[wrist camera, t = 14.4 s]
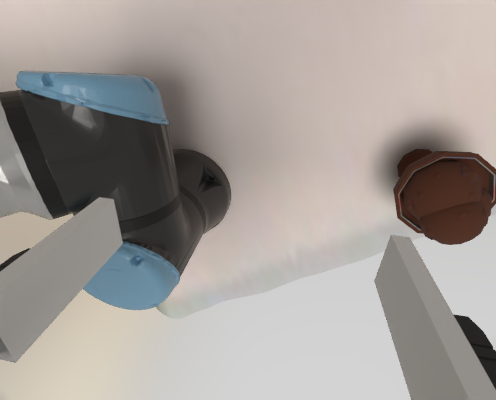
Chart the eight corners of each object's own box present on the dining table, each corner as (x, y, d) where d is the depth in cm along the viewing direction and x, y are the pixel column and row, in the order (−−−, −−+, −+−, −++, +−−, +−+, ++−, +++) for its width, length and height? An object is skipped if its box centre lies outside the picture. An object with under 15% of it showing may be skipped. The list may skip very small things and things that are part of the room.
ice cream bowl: (473, 175, 40) (552, 237, 27) (395, 210, 45) (432, 277, 32) (444, 114, 37) (517, 150, 24) (363, 158, 42) (389, 208, 29)
